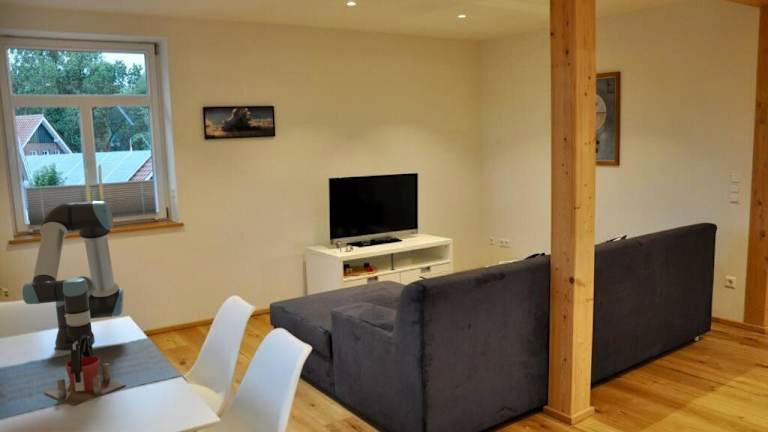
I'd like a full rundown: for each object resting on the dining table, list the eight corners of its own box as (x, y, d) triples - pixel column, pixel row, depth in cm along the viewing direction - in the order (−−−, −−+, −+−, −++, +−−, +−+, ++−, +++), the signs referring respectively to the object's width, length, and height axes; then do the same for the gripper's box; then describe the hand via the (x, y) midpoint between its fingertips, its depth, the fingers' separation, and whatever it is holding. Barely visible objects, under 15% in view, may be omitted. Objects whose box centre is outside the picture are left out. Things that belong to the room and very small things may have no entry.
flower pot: (109, 383, 220) (106, 357, 218) (82, 396, 210) (79, 368, 209) (88, 379, 224) (85, 353, 223) (61, 391, 214) (58, 364, 213)
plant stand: (96, 375, 230) (95, 358, 229) (125, 386, 219) (124, 368, 218) (44, 393, 215) (42, 375, 214) (72, 406, 204) (70, 387, 203)
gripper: (77, 314, 224) (83, 372, 227) (55, 334, 202) (62, 398, 205) (99, 312, 225) (105, 370, 228) (79, 332, 203) (86, 396, 206)
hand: (85, 384), depth 217 cm, fingers closed on flower pot, 10 cm apart
